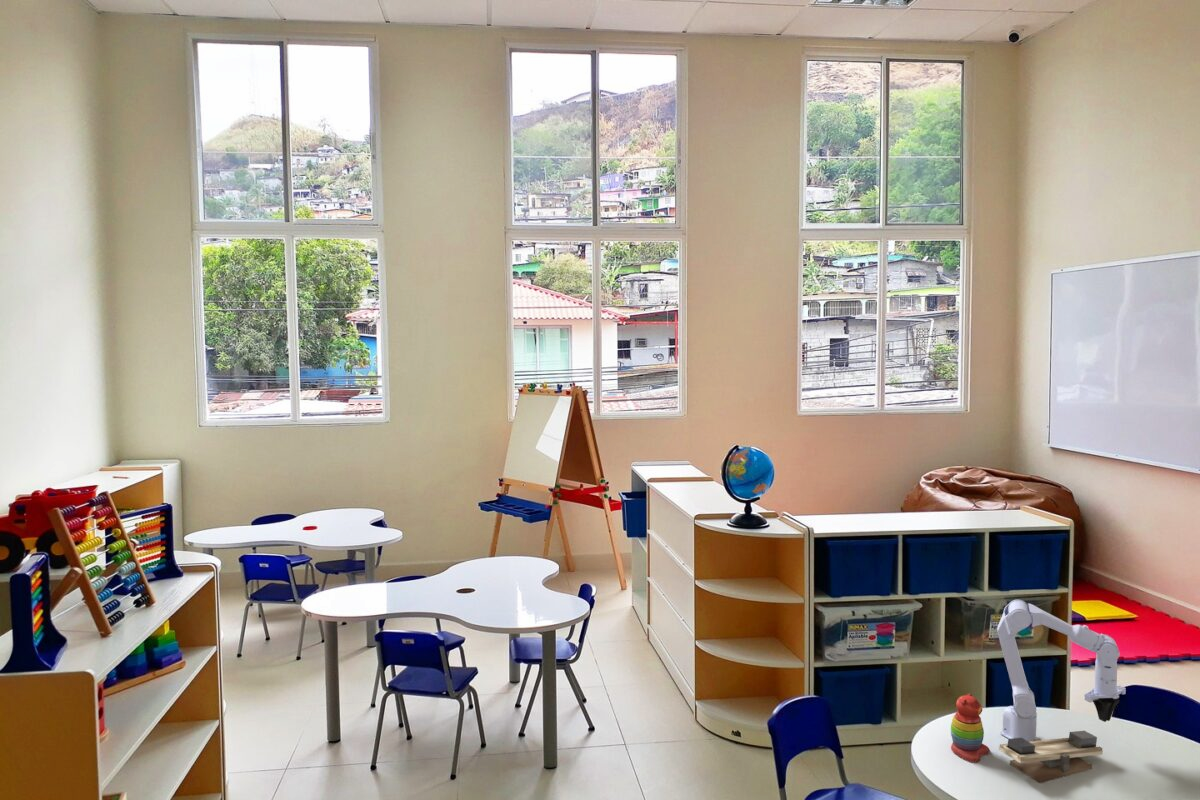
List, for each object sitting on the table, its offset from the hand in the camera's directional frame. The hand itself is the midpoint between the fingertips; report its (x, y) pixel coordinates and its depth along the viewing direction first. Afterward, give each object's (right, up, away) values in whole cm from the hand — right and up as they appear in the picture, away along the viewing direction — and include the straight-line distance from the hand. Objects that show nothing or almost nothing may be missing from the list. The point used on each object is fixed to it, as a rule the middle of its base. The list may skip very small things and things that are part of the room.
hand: (1104, 719), depth 259 cm
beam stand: (-19, -12, -6) cm, 23 cm away
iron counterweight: (-31, -5, -11) cm, 33 cm away
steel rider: (-8, -7, -2) cm, 11 cm away
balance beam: (-20, -7, -6) cm, 22 cm away
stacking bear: (-40, -12, +4) cm, 42 cm away
